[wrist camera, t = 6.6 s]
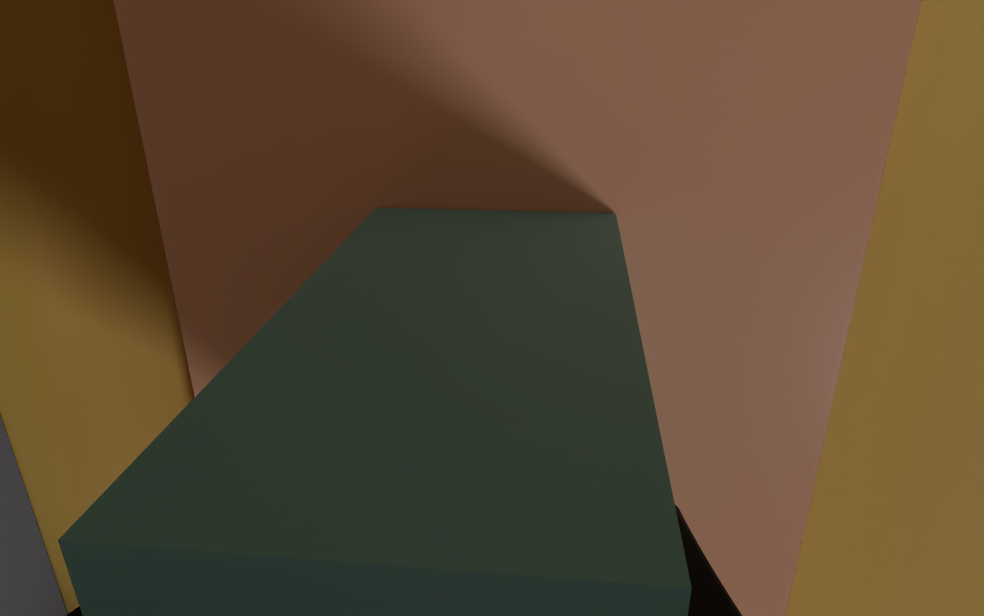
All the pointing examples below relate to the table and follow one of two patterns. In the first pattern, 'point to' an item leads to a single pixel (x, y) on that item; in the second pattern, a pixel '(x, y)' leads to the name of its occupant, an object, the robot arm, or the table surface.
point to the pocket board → (22, 548)
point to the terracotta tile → (556, 190)
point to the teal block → (412, 443)
